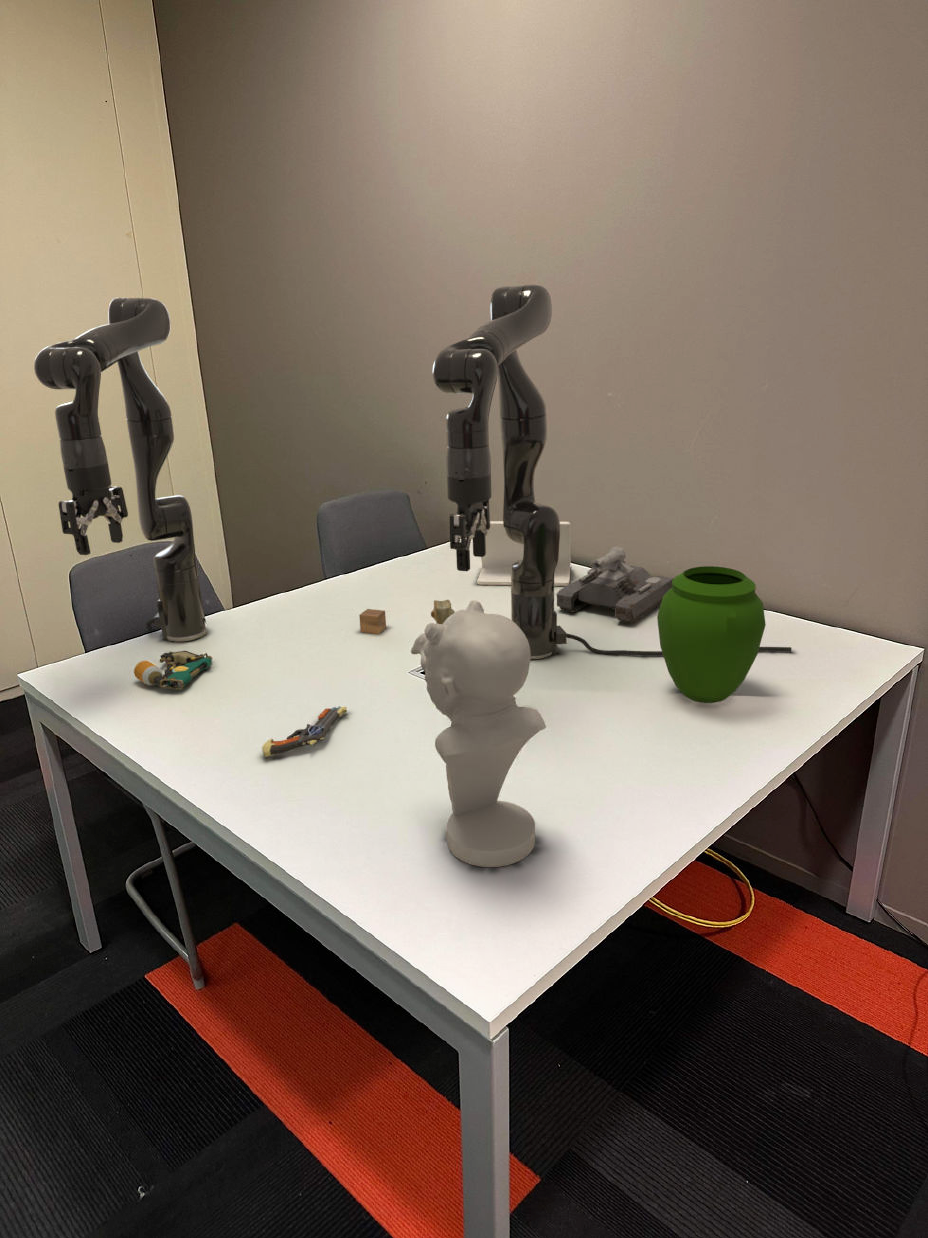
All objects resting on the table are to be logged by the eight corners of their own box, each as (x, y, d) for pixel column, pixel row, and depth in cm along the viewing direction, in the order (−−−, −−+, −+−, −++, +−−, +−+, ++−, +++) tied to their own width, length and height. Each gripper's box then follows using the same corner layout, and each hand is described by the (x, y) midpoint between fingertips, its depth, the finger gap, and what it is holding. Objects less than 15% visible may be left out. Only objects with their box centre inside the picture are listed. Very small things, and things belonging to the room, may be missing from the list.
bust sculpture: (481, 772, 140) (476, 569, 128) (565, 848, 120) (569, 617, 108) (392, 800, 134) (378, 588, 121) (465, 886, 114) (457, 642, 101)
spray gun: (177, 659, 191) (231, 671, 185) (120, 684, 176) (176, 698, 171) (176, 641, 190) (230, 653, 184) (118, 665, 175) (174, 678, 169)
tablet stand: (569, 585, 229) (570, 524, 223) (476, 584, 232) (475, 523, 226) (570, 566, 246) (571, 508, 240) (484, 564, 249) (483, 507, 243)
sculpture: (458, 662, 183) (456, 596, 178) (460, 676, 176) (457, 608, 171) (431, 663, 183) (428, 597, 177) (431, 677, 176) (428, 609, 171)
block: (368, 626, 206) (367, 608, 204) (386, 627, 204) (385, 610, 202) (360, 632, 202) (359, 614, 200) (378, 634, 200) (377, 616, 199)
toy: (603, 584, 229) (605, 530, 224) (673, 597, 218) (677, 540, 213) (555, 612, 210) (556, 553, 205) (630, 627, 199) (633, 566, 194)
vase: (769, 686, 168) (782, 568, 159) (741, 727, 152) (753, 599, 144) (673, 667, 178) (680, 554, 169) (637, 703, 162) (643, 582, 154)
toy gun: (257, 746, 146) (311, 744, 144) (298, 704, 164) (347, 701, 161) (260, 761, 146) (314, 759, 144) (300, 717, 164) (349, 715, 162)
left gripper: (97, 454, 163) (112, 537, 168) (38, 468, 150) (57, 557, 156) (129, 456, 160) (142, 539, 166) (72, 470, 148) (89, 560, 153)
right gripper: (462, 463, 152) (465, 550, 158) (432, 479, 140) (437, 573, 146) (502, 464, 150) (504, 553, 156) (476, 481, 137) (478, 577, 143)
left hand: (101, 548), depth 161 cm, fingers open, 8 cm apart
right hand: (471, 563), depth 151 cm, fingers open, 8 cm apart
